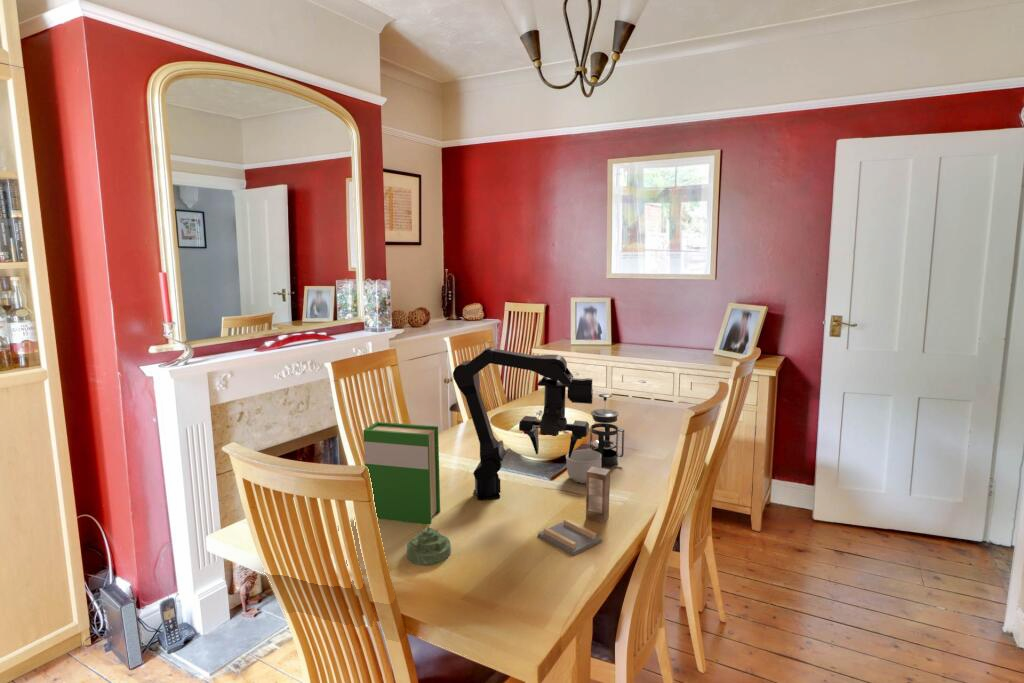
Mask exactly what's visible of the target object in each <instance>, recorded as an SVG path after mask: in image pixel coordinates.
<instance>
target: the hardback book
mask: <svg viewBox="0 0 1024 683" xmlns="http://www.w3.org/2000/svg"><path fill="white" fill-rule="evenodd" d="M362 432H363V450H364V452H363V453H364V467H365V466H367V467H368V469H369V473H370V478H371V482H372V488H373V494H374V502H375V507H376V513H377V517H378V520H384V521H385V520H386V521H393V520H395V522H405V523H410V522H411V523H412V524H419V523H420V524H421V525H427V524H430V525H431V524H432V517H433V516H434V515H435V514H438V513H439V514H441V490H440V489H441V486H440V483H441V482H440V455H439V453H440V449H439V448H440V447H439V444H440V443H439V426H436V425H424V424H423V425H421V424H409V423H397V422H395V423H394V422H384V421H383V422H382V421H381V422H380V421H376V422H374V423H373V424H371V425H369V426H368V427H366V428H364V429H363V431H362Z"/></svg>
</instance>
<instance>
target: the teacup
mask: <svg viewBox="0 0 1024 683" xmlns="http://www.w3.org/2000/svg"><path fill="white" fill-rule="evenodd" d="M601 457H602V455H601V454H600V453H599V452H597V451H593V448H592V449H591V448H590V447H587V448H586V449H577V450H576V449H575V450H573V452H572V455H571V457H570V458H569V452H567V453H566V454H565V460H566V472H567V474H568V477H569V478H570V479H572V480H573V481H574V482H576V483H578V482H580V483H579V484H587V471H588V470H589V469H590V468H591V467H597V468H603V467H602V466H601Z"/></svg>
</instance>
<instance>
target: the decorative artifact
mask: <svg viewBox="0 0 1024 683" xmlns="http://www.w3.org/2000/svg"><path fill="white" fill-rule="evenodd" d="M406 550H407V551H406V552H407V553H406V555H407V560H408V561H409V562H410V563H411V564H413V565H418V566H422V567H424V566H425V567H427V566H430V565H431V566H436V565H439V564H438V563H440V564H442V563H444V562H446V561H447V560H448V559H449V558H450V557H451V553H452V552H451V540H450V539H449V538H448V537H447V536H445V535H443V534H442V533H441V532H439V530H438V529H434V528H432V527H430V526H427V528H425V529H424V528H423V529H422V530H420V532H419V533H417V535H415V536H414V538H412V539H411V540H409V541H408V542H407V544H406ZM449 556H450V557H449ZM448 557H449V558H448ZM446 559H447V560H446ZM445 560H446V561H445ZM443 561H444V562H443ZM441 562H442V563H441ZM435 564H436V565H435ZM431 566H430V567H431Z"/></svg>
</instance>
